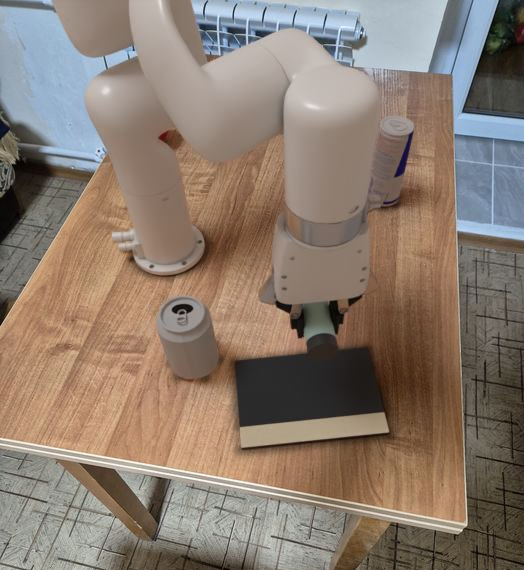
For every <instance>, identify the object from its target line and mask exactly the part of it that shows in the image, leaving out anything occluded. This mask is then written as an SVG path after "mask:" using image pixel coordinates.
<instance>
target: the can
mask: <svg viewBox="0 0 524 570" xmlns="http://www.w3.org/2000/svg"><path fill="white" fill-rule="evenodd" d="M155 329H156V332H157V335H158V336H159V340H160V343H161V346H162V348H163V351H164V354H165V356H166V357H165V358H166V359H167V362H168V365H169V367H170V369H171V371H172V372H173V373H174V374H175V375H177V376H178V377H180V378H182V379H184V380H197V379H202V378H205V377H206V376H208V375H209V374H210V373H212V372H213V371H214V370H215V369H216V367H217V365H218V363H219V359H220V353H219V348H218V344H217V343H218V342H217V339H216V333H215V329H214V325H213V319H212V314H211V311H210V309H209V307H208V306H207V305H206V304H205V303H203V302H202V301H201V300H200V299H199V298H197V297H195V296H193V295H188V294H181V295H175V296H173V297H170V298H168V299H167V300H166V301H165V302H163V303H162V304H161V306H160V307H159V309H158V313H157V315H156V319H155Z"/></svg>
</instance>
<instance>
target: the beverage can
mask: <svg viewBox="0 0 524 570" xmlns="http://www.w3.org/2000/svg"><path fill="white" fill-rule="evenodd" d="M414 129H415V124H414V122H413V121H412V120H410V119H409V117H408V118H407V117H405V116H401V115H389V116H386V117H384V118H382V119H381V121H380V122H379V127H378V132H377V138H376V144H375V151H374V157H373V163H372V170H371V176H370V182H369V189H368V194H371V195H372V196H373V195H380V198H381V207H385V208H386V207H390V206H391V207H392V206H393V205H395V204H397V203H398V201H399V200H400V195H401V190H402V186H403V182H404V177H405V172H406V169H407V165H408V159H409V155H410V150H411V146H412V141H413V137H414V133H415V132H414V131H415V130H414Z"/></svg>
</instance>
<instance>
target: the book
mask: <svg viewBox="0 0 524 570" xmlns="http://www.w3.org/2000/svg"><path fill="white" fill-rule="evenodd" d="M234 372H235V382H236V383H235V384H236V396H237V408H238V409H237V411H238V423H239V436H240V437H239V438H240V439H239V440H240V448H241V450H250V449H260V448H269V447H278V446H279V447H281V446H287V445H298V444H307V443H316V442H327V441H336V440H345V439H355V438H365V437H375V436H382V435H384V436H385V435H389V434H390V429H389V426H388V421H387V417H386V414H385V412H384V407H383V402H382V399H381V395H380V391H379V387H378V384H377V383H378V382H377V379H376V375H375V370H374V368H373V364H372V360H371V356H370V351H369V348H368V346H365V347H356V348H344V349H339V351H338V353H337V355H336V356H334V357H333V358H331V359H328V360H324V361H315V360H312V359H310V358H309V356H308V352H306V353H296V354H295V353H294V354H287V355H285V354H284V355H277V356H267V357H258V358H257V357H256V358H247V359H238V360H236V359H235V360H234Z"/></svg>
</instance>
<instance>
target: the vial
mask: <svg viewBox="0 0 524 570" xmlns="http://www.w3.org/2000/svg"><path fill="white" fill-rule="evenodd" d="M302 309H303V314H304V341H305V347H306V351H307V352H306V353H308V356H309V358H310V359H312V360H315V361H324V360H328V359H331V358H333V357H334V356H336V355H337V353H338V351H339V350H340V348H339V345H338V340H337V336H336V335H335V331H334V326H333V322H332V317H331V313H330V309H329V301H323V302H314V303H303V307H302Z"/></svg>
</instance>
